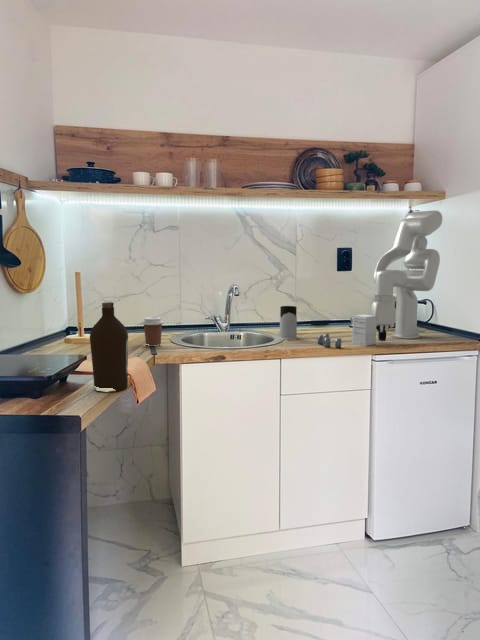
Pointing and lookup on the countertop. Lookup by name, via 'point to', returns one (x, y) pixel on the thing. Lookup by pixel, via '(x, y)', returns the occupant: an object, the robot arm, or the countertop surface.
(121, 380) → the olive oil
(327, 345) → the stub cradle
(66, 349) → the countertop surface
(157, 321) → the coffee cup
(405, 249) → the robot arm
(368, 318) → the supplement box
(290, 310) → the glass holder
